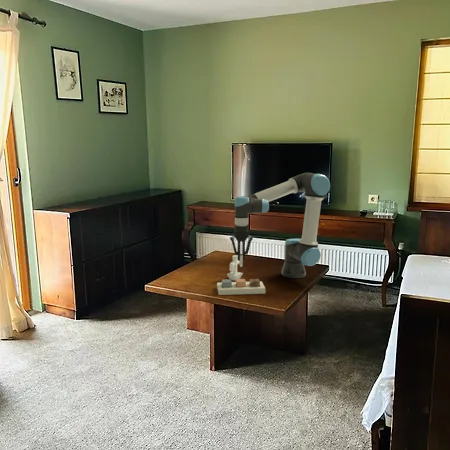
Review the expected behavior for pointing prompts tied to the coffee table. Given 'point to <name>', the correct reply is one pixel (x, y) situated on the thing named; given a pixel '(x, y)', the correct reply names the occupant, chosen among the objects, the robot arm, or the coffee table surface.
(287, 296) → the coffee table surface
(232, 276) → the figurine
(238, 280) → the terracotta key
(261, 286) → the key block
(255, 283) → the walnut key
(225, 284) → the slate key
